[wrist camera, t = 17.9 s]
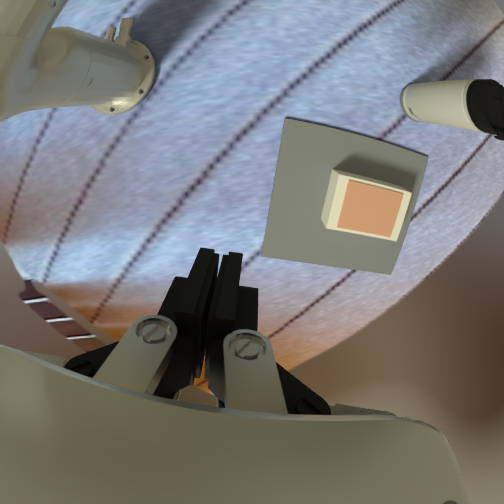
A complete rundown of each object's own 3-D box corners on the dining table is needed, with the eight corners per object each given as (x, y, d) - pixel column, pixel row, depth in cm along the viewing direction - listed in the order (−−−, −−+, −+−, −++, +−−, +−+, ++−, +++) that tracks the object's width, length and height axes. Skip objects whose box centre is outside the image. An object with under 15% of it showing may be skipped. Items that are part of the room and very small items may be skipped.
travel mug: (399, 121, 36) (484, 135, 18) (398, 81, 33) (482, 71, 15) (431, 125, 35) (518, 145, 18) (430, 87, 32) (518, 88, 15)
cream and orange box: (339, 174, 36) (412, 193, 36) (332, 168, 39) (400, 186, 40) (326, 228, 39) (397, 241, 40) (320, 218, 43) (387, 231, 44)
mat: (284, 118, 37) (285, 118, 36) (426, 156, 38) (427, 157, 37) (261, 254, 47) (261, 256, 46) (389, 273, 48) (390, 274, 47)
